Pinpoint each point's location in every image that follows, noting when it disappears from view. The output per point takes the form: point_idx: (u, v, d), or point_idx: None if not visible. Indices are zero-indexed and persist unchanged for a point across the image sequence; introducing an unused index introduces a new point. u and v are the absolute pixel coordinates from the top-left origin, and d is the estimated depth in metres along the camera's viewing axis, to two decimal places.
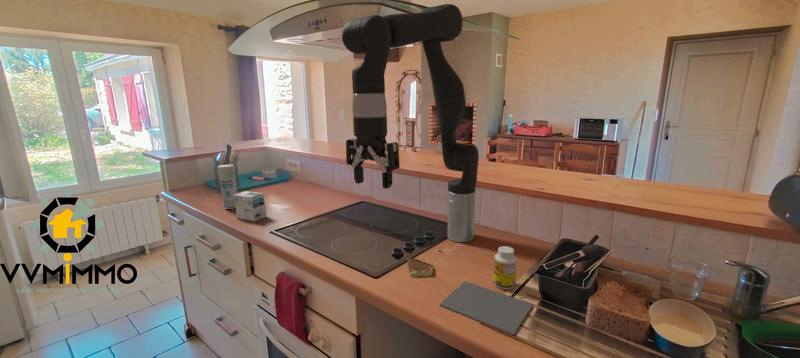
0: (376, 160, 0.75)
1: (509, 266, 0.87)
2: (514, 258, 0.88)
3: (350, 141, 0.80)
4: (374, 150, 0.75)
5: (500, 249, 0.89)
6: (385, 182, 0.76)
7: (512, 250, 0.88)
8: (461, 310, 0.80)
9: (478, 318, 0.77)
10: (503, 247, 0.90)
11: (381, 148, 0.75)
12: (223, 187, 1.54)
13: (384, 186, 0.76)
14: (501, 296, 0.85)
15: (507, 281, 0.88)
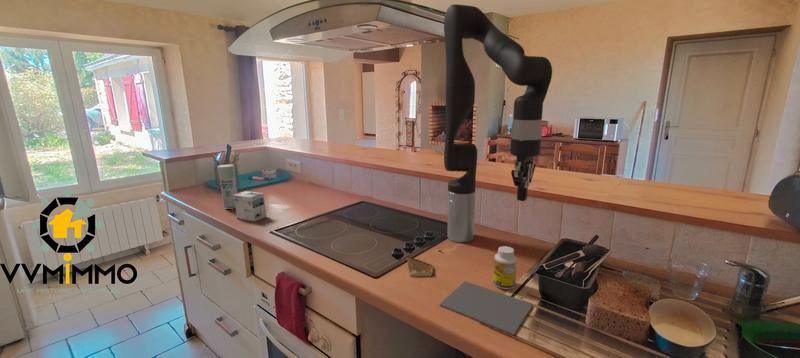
0: (531, 175, 0.92)
1: (509, 266, 0.87)
2: (514, 258, 0.88)
3: None
4: None
5: (500, 249, 0.89)
6: None
7: (512, 250, 0.88)
8: (461, 310, 0.80)
9: (478, 318, 0.77)
10: (503, 247, 0.90)
11: None
12: (223, 187, 1.54)
13: (526, 198, 0.94)
14: (501, 296, 0.85)
15: (507, 281, 0.88)
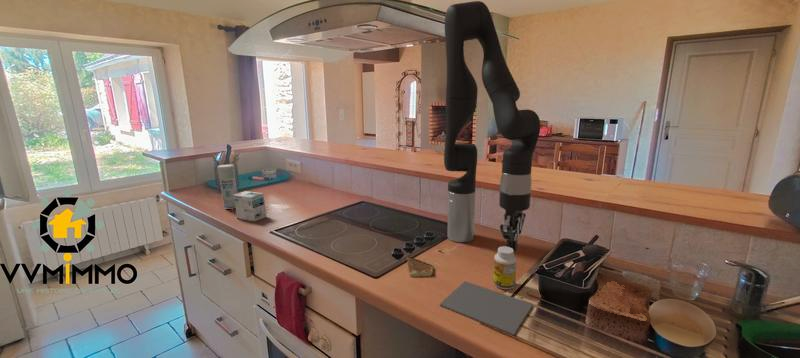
0: (520, 227, 0.90)
1: (508, 266, 0.87)
2: (514, 258, 0.88)
3: (509, 226, 0.85)
4: None
5: (500, 249, 0.89)
6: None
7: (512, 250, 0.88)
8: (461, 310, 0.80)
9: (478, 318, 0.77)
10: (503, 247, 0.90)
11: (521, 214, 0.91)
12: (223, 187, 1.54)
13: (516, 250, 0.91)
14: (501, 296, 0.85)
15: (507, 281, 0.88)
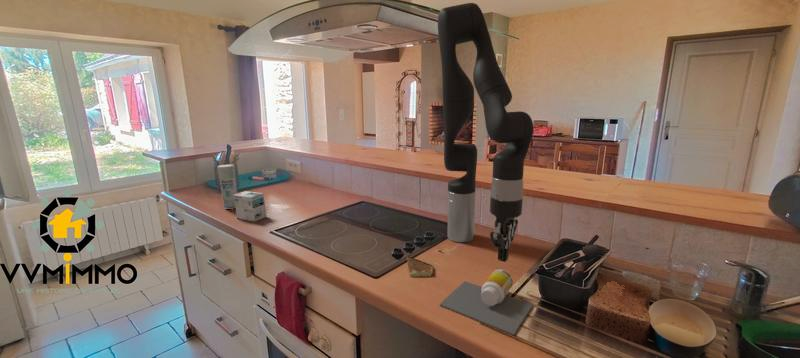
0: (512, 234, 0.86)
1: None
2: (501, 297, 0.80)
3: (499, 233, 0.81)
4: None
5: (483, 299, 0.81)
6: None
7: (495, 299, 0.79)
8: (461, 310, 0.80)
9: (478, 318, 0.77)
10: (485, 293, 0.80)
11: None
12: (223, 187, 1.54)
13: (507, 258, 0.87)
14: None
15: None
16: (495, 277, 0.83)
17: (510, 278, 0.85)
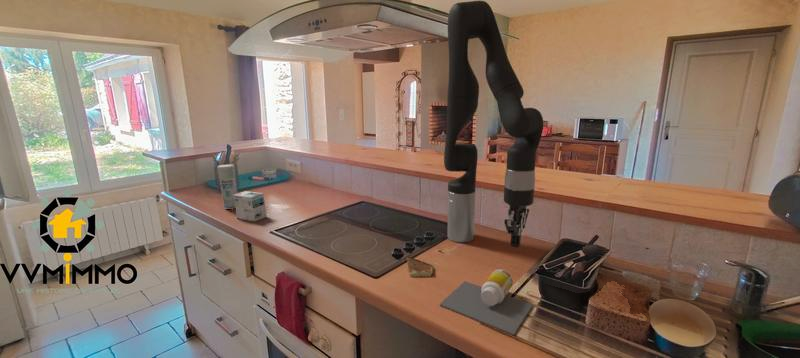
0: (524, 222, 0.93)
1: None
2: (501, 297, 0.80)
3: (513, 220, 0.88)
4: None
5: (483, 299, 0.81)
6: None
7: (495, 299, 0.79)
8: (461, 310, 0.80)
9: (478, 318, 0.77)
10: (485, 293, 0.80)
11: None
12: (223, 187, 1.54)
13: (519, 244, 0.94)
14: None
15: None
16: (495, 277, 0.83)
17: (510, 278, 0.85)
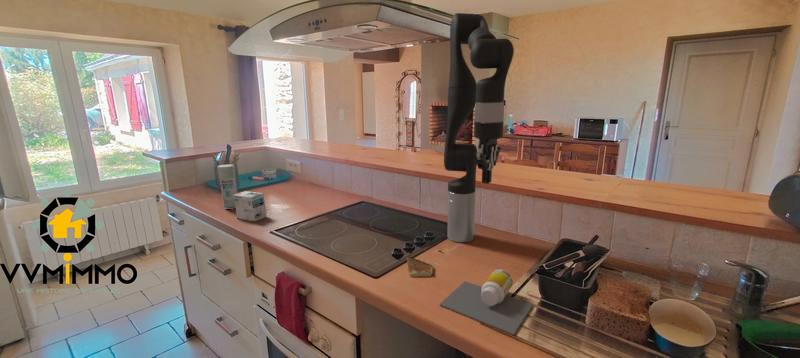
0: (494, 157, 0.93)
1: None
2: (501, 297, 0.80)
3: None
4: None
5: (483, 299, 0.81)
6: None
7: (495, 299, 0.79)
8: (461, 310, 0.80)
9: (478, 318, 0.77)
10: (485, 293, 0.80)
11: None
12: (223, 187, 1.54)
13: (490, 180, 0.95)
14: None
15: None
16: (495, 277, 0.83)
17: (510, 278, 0.85)
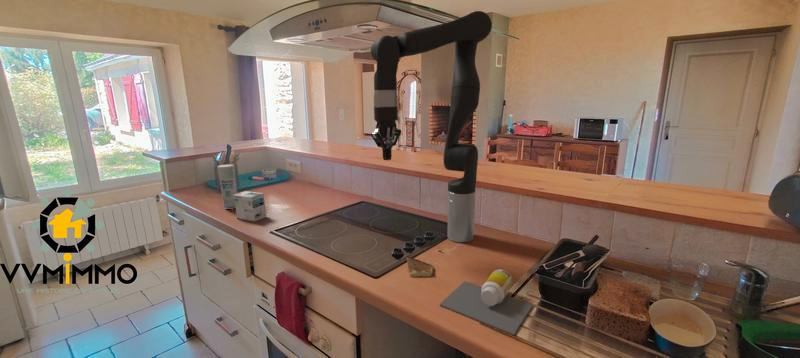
0: (392, 138, 1.09)
1: None
2: (501, 297, 0.80)
3: None
4: None
5: (483, 299, 0.81)
6: None
7: (495, 299, 0.79)
8: (461, 310, 0.80)
9: (478, 318, 0.77)
10: (485, 293, 0.80)
11: (395, 128, 1.11)
12: (223, 187, 1.54)
13: (390, 158, 1.11)
14: None
15: None
16: (495, 277, 0.83)
17: (510, 278, 0.85)
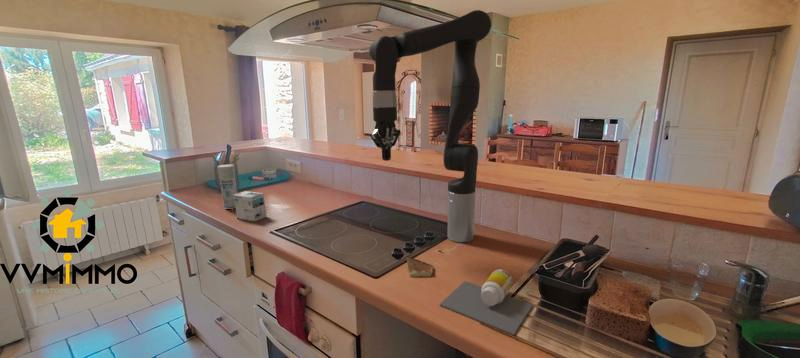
0: (391, 138, 1.09)
1: None
2: (501, 297, 0.80)
3: None
4: None
5: (483, 299, 0.81)
6: None
7: (495, 299, 0.79)
8: (461, 310, 0.80)
9: (478, 318, 0.77)
10: (485, 293, 0.80)
11: (394, 129, 1.11)
12: (223, 187, 1.54)
13: (390, 158, 1.11)
14: None
15: None
16: (495, 277, 0.83)
17: (510, 278, 0.85)
